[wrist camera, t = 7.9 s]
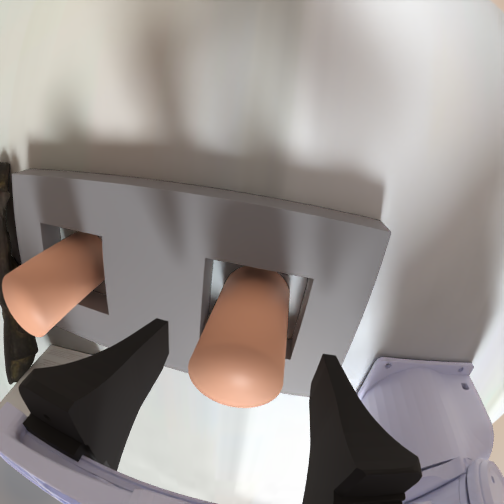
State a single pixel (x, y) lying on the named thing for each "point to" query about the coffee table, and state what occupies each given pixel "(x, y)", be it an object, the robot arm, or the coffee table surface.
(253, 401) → the pin
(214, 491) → the coffee table surface
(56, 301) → the pin
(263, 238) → the pegboard
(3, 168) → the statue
